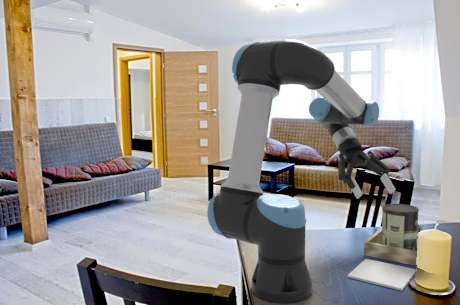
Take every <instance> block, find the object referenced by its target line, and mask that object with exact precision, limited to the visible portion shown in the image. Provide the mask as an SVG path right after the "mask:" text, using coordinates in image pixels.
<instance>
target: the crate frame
mask: <svg viewBox="0 0 460 305" xmlns="http://www.w3.org/2000/svg"><path fill="white" fill-rule="evenodd" d="M418 235H419V234H417V239H418ZM417 251H418V250H417ZM417 251H414V250H408V249H403V248H398V247H393V246H387V245H382V227H381V228H380V229H378V230H377V231H376V232H374V233H373V234H372V235H371V236H370V237H369V238H367V239H366V240H365V241H364V242H363V255H364V256H367V257H371V258H376V259H377V258H378V259H382V260H386V261H392V262H395V263H401V264H406V265H410V266H413V267H414V266H415V267H417V266H416V257H417Z"/></svg>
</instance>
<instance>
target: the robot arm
mask: <svg viewBox="0 0 460 305" xmlns="http://www.w3.org/2000/svg"><path fill="white" fill-rule="evenodd" d="M231 72H232V74H233V75H232V77H233V79H234V81H235V82H236V83H237V90H239V92H240V94H241V96H240V104H239V109H238V114H237V115H238V116H237V121H236V127H235V128H236V129H235V134H234V138H233V145H232V151H231V156H230V164H229V169H228V174H227V175H228V176H227V179H226V181H225V182H223V183H222V184H221V185H220V188H219V192H217V193H214V194H213V196H212V198H211V199H209V202H208V205H207V212H206V213H207V220H208V224H209V226H210V227H211V229H212V231H213V232H214V233H216V234H217V235H219V236H221V237H225V238H226V239H234V240H236V241H241V242H245V243H248V244H253V245H256V246H257V262H256V265H255V267H254V271H253V274H252V277H251V282H250V284H251V291H252V293H253V295H255V296H256V297H257V298H259V299H261V300H263V301H264V300H265V301H267V302H271V303H279V304H288V303H289V304H290V303H297V302H300V301H303V300H305V299H307V298H308V297H310V296H311V295H312V292H313V282H312V278H311V275H310V271H309V268H308V266H307V262H306V223H307V219H306V210H305V206H304V204H303V203H302V201H301V200H299V199H297V198H295V197H292V196H289V195H285V194H281V193H279V194H276V193H266V194H264V191H263V189H262V188H261V187H260V180H261V173H262V168H263V160H264V155H265V149H266V142H267V138H268V137H267V136H268V130H269V123H270V118H271V111H272V106H273V100H274V99H275V98H276V97H278V96H279V95H280V91H281V86H282V85H283V86H284V85H299V86H304V87H305V88H306V89H308V90H312V91H316V93H318V94H320V96H319V97H316V98H314V99H312V101H310V104H309V106H308V112H309V114H310V116H311V117H312V118H313V119H314V120H315V121H316V122H318V123H319V124H320V125H321V126H323V127H324V128H325V129H326V130H327V131H328V133H329V136H330V137H331V139H332V141H333V143H334V144H335V147H336V148H337V150H338V152H339V154H338V155H337V156H336V162H337V165H338V166H337V167H338V169H337V170H338V173H337V174H338V180H339V181H342V183H344V184H347V187H348V188H349V189H350V190H351V191H352V193H353V194H354V196H355V198H356V200H357V199H358V200H359V199H360V198H361V197H362V196H363V194H364V193H363V191H362V190H361V188H360V186H359V184H358V183H357V181H356V179H355V177H353V176H352V173H353V170H354V167H355V168H356V167H364V168H367V169H368V170H370V171H371V172H373V173H375V174H376V175H378V176H380V181H381V182H382V184H383V186H384V187H385V189H386V192H388V194H389V195H392V194H393V193H394V192H395V191H396V190H397V189H396V187H395V186H394V184H393V182H392V179H391V177H390V176H389V173H390V172H391V168H390V167H388V166H387V165H386V164H385V163H383V161H381V159H379V158H378V157H377V156H376V155H375V154H374V153H373V152H372V151H371V150H369V151H367V152H365V151H364V150H363V146H362V144H361V142H360V140H359V139H358V137H357V135H356V134H355V132H354V130H353V129H352V127H351V126H350V125H360V126H361V125H363V126H366V125H367V126H369V125H375V124H377V123H378V120H379V117H380V107H379V104H378V102H377V101H370V100H368V101H367V100H364V98H362V96H360V94H359V93H357V92H356V90H355V89H354V88H353V87H352V86H351V85H350V84H349V83H348V82H347V81H346V80H345V79H344V78H343V77H342V76H341V75H340V73H338V71H336V70H335V65H334V62H333V61H332V60H331V59H330V57H328V56H327V55H326V54H325V53H324V52H322V51H321V50H320V49H318V48H316V47H315V46H313V45H311V44H308V43H306V42H304V41H302V40H298V39H291V38H289V39H281V40H273V41H264V42H263V41H261V42H260V41H256V42H253V43H249V44H245V45H243V46H242V47H240V48H239V49H238V50H237V51H236V53H235V55H234V57H233V59H232V64H231ZM346 162H347V165H346Z"/></svg>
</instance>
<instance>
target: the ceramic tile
mask: <svg viewBox="0 0 460 305" xmlns="http://www.w3.org/2000/svg"><path fill="white" fill-rule="evenodd" d="M415 269H416V268H411V267H406V266H402V265H398V264H392V263H388V262H383V261H379V260H374V259H369V258H364V260H362V261H361V262H360V263H359V264H358V265H357V266H356V267H355V268H354V269H353V270H351V272H349V273H348V274H347V278H348V279H353V280H357V281H361V282H365V283H368V284H373V285H377V286H381V287H385V288H389V289H393V290H397V291H401V292H403V290H405V288H406V287H407V285H408V284H409V283H410V281H411V280H410V279H412V278H413V277H414V276H413V275H415V274H416V273H415Z"/></svg>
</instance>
